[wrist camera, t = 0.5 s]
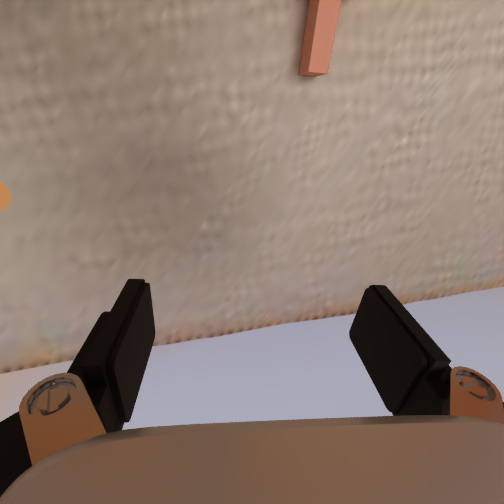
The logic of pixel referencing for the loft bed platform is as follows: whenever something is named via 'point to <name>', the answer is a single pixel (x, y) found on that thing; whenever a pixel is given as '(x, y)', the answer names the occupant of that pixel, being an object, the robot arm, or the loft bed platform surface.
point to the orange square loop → (319, 37)
